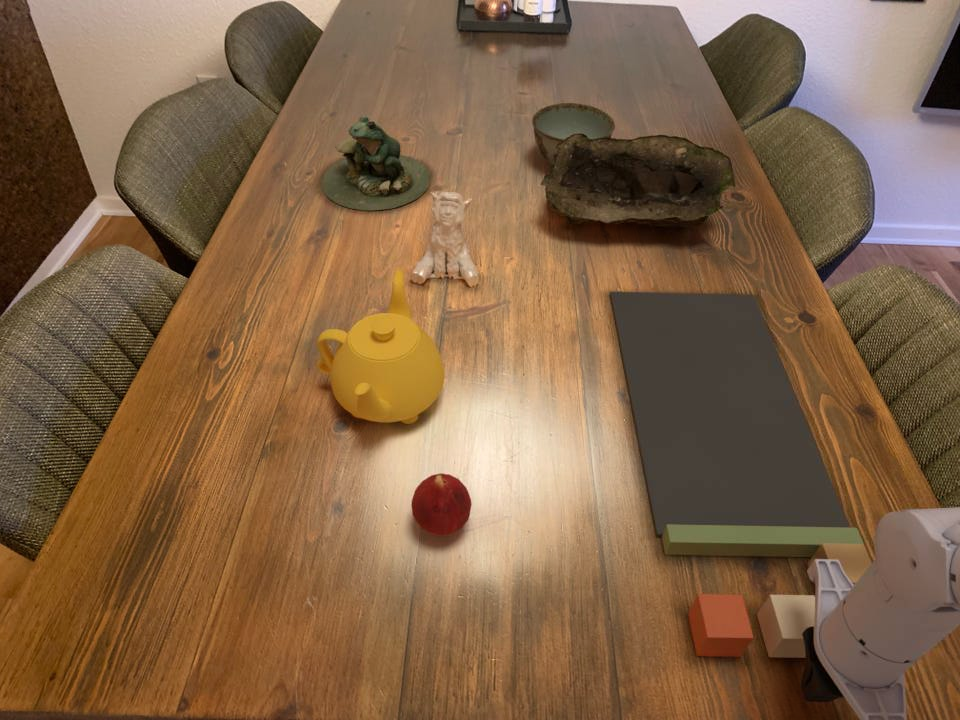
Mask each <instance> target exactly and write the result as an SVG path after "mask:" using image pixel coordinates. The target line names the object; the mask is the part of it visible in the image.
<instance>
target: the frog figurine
mask: <svg viewBox="0 0 960 720" xmlns="http://www.w3.org/2000/svg"><path fill="white" fill-rule="evenodd" d="M347 132H348V134H349V136H351V138H347V139H343V140H340V142H338V143H337V144H336V146H335V149H336V150H337V152H339V153H342V157H345V158H344V159H342V160H340V161H339V162H336V163H335V164H334V165H332V166H331V167H329V168H328V169H327V171H326V172H325V173H324V175H323V177H322V179H321V183H320V184H321V189H322V191H323V193H324V195H325V197H326V198H328V199H329V200H330V201H332V202H333V203H335V204H337V205H339V206H341V207H344V208H348V209H352V210H357V211H382V210H383V211H384V210H391V209H395V208H399V207H403V206H404V205H407V204H410V203H411V202H413V201H415V200H417V199H418V198H420V197H421V196H422V195H423V194H424V193H425V192H426V191H427V190H428V189H429V188H430V185H431V175H430V172H429V170H428V168H427V167H426V166H425V165H424V164H423V163H421V162H420V161H418V160H417V159H414V158H412V157H411V156H406V155H403V154H401V152H402V151H401V144H400V142H399V140H397V139H396V138H395V137H392V136H391V135H388V134H387V133H386V131H384V129H383V128H382V127H381V126H379V125H378V124H377V123H376V122H375V121H374V120H372V119H369V118H368V117H367V116H366V115H362V116H361V117H360V118H359V121H358V122H357V123H354V124H352V125H351V126H350V127H349V129H348V131H347Z"/></svg>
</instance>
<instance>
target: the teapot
mask: <svg viewBox="0 0 960 720" xmlns="http://www.w3.org/2000/svg"><path fill="white" fill-rule="evenodd" d="M316 341H317V343H316V345H317V349H318V352H319V353H320V356H321V358H319V359H318V361H316V362H317V363H316V368H317V370H318V372H319V373H320V374H322V375H323V376H327V377H329V376H330V386H331V391H332V394H333V396H334V398H335V400H336V401H337V403H339V405H340V406H341V407H342V408H343V409H344V410H346V411H347V412H348V413H350V414H351V415H352V417H354V418H356V419H363V420H366V421H370V422H375V423H396V422H401V423H403V424H405V425H410V424H414V423H416V422H417V421H418V419H419V414H421V413H422V412H424V411H425V410H427V409H428V408H429V407H430V406H432V404H433V403H434V402H435V401H436V400H437V398H438V397H439V396H440V394H441V391H442V389H443V388H444V387H443V386H444V383H445V367H444V363H443V359H442V355H441V353H440V351H439V349H438V346H437V345H436V344H435V342H434V340H433V339H432V337H430V336H429V334H428V333H427V332H426V331H425V330H424V329H423V328H422V327H421V326H420V325H419V324H417V323H416V322H415V321H414V320H413V315H412V311H411V309H410V305H409V302H408V299H407V296H406V290H405V273H404V271H403V269H401V268H398V269H397V270H396V271H395V272H394V274H393V278H392V287H391V293H390V299H389V303H388V307H387V311H386V312H381V313H374V314H371V315H367V316H364V317H363V318H361V319H360V320H359V321H357V322H356V323H354V325H353V326H352V327H351V328H350V329H349V330H348V332H346V331H345V330H342V329H340V328H339V329H338V328H329V329H326V330H324V331H322V332H321V333H320V334H319V336H318V338H317V340H316ZM327 341H334V342H337V343H339V344H338V347H337V348H336V350H335V353H334V354H333V352H332V351H331V349H330V347H329V345H328V342H327Z"/></svg>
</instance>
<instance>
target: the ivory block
mask: <svg viewBox="0 0 960 720" xmlns="http://www.w3.org/2000/svg"><path fill="white" fill-rule="evenodd" d="M814 615H815V594H814V595H813V594H812V595H811V594H769V596H768V597H767V598H766V600H765V601H764V603H763V605H762V606H761V607H760V609H759V610H758V612H757V614H756V617H757V621H758V624H759V628H760V631H761V634H762V635H761V636H762V638H763V641H764V646H765V649H766V653H767V656H768V658H786V659H787V658H789V659H790V658H792V659H793V658H797V659H798V658H799V659H805V656H806V654H805V644H804V639H803V636H802V633H803V632H804V631H805V629H807V628H808V627H814Z"/></svg>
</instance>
